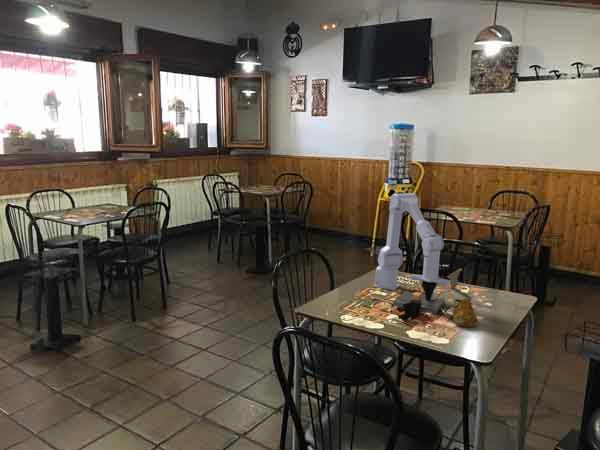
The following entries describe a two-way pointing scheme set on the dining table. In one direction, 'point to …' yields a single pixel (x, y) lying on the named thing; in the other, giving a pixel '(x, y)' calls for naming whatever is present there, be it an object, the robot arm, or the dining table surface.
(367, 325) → the dining table surface
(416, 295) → the fader orange
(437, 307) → the panel
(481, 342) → the dining table surface
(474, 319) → the rock
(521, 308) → the dining table surface
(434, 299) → the block
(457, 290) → the jawbone
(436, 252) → the robot arm
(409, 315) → the toy
